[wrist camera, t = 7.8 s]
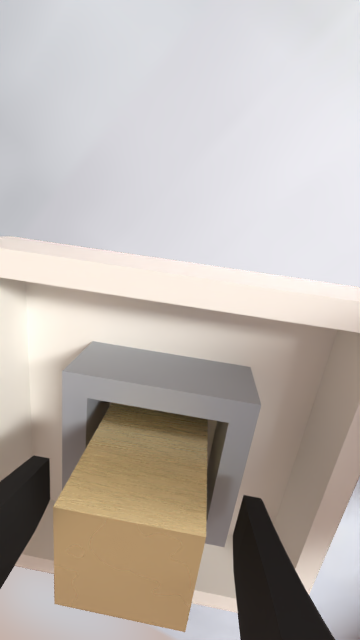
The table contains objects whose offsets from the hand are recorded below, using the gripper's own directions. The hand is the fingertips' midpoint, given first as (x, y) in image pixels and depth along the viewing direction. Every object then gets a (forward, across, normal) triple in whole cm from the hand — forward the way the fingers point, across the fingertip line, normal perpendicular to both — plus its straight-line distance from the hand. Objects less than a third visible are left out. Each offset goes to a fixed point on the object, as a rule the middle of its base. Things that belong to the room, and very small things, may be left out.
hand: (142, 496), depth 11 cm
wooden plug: (+4, 0, 0) cm, 4 cm away
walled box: (+5, 0, 0) cm, 5 cm away
